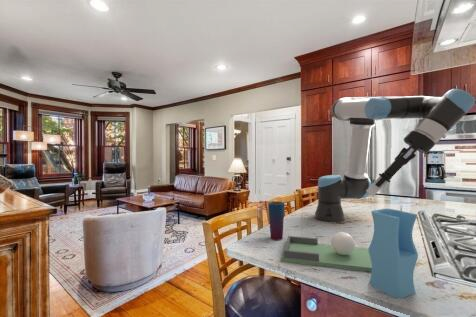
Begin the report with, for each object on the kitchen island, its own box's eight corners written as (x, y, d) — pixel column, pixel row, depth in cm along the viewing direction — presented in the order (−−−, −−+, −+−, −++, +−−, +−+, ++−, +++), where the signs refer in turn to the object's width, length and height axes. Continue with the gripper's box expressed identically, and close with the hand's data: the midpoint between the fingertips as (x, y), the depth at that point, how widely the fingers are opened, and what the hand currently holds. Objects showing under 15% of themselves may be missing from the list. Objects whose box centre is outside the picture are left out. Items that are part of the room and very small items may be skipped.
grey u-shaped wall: (317, 244, 90) (317, 238, 90) (319, 261, 76) (318, 254, 76) (288, 241, 93) (288, 235, 93) (284, 257, 79) (284, 250, 79)
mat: (382, 252, 84) (382, 249, 84) (398, 275, 69) (398, 271, 69) (285, 243, 94) (285, 240, 94) (281, 261, 79) (281, 257, 79)
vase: (397, 299, 58) (397, 218, 57) (368, 283, 65) (368, 211, 64) (417, 291, 61) (417, 214, 60) (387, 277, 68) (387, 208, 67)
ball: (343, 248, 86) (343, 228, 85) (360, 257, 78) (360, 234, 78) (326, 251, 83) (326, 230, 83) (342, 260, 76) (342, 237, 76)
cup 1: (274, 234, 105) (274, 200, 105) (287, 237, 101) (287, 202, 100) (265, 238, 101) (264, 203, 100) (278, 242, 96) (278, 205, 95)
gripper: (441, 140, 66) (380, 203, 72) (431, 146, 77) (379, 199, 83) (415, 125, 69) (358, 186, 75) (408, 133, 80) (360, 185, 86)
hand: (369, 193), depth 79 cm, fingers closed
